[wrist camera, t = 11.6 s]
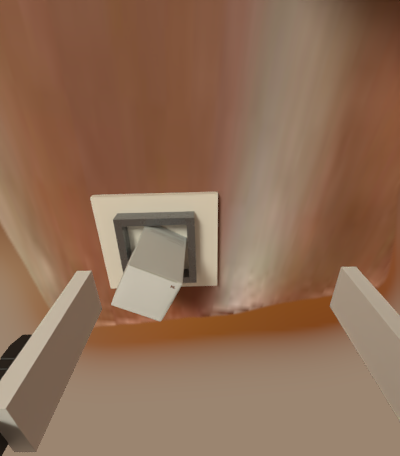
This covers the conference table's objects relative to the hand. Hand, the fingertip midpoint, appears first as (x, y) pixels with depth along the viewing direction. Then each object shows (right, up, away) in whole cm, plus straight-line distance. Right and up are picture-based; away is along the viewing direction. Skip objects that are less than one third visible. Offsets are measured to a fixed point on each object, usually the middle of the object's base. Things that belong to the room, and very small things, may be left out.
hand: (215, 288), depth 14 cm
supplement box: (-8, 0, +30) cm, 31 cm away
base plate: (-8, +1, +31) cm, 32 cm away
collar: (-8, 0, +30) cm, 31 cm away
